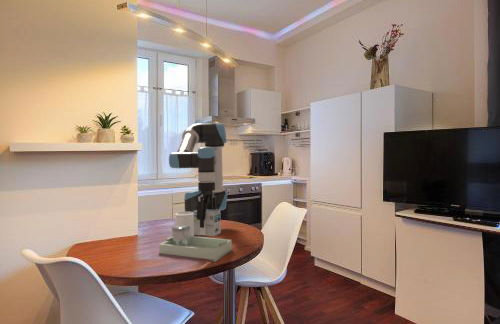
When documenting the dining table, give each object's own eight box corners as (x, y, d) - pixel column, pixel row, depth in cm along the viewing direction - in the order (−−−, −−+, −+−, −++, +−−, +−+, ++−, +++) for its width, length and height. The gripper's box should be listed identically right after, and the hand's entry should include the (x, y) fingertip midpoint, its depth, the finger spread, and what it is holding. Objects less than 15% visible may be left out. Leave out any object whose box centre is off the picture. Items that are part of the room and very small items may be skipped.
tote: (180, 245, 155) (180, 233, 155) (232, 250, 145) (231, 237, 145) (158, 255, 140) (158, 241, 139) (215, 262, 129) (214, 247, 129)
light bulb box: (221, 232, 141) (221, 209, 141) (214, 236, 135) (214, 211, 135) (200, 231, 145) (200, 208, 145) (193, 234, 138) (192, 210, 138)
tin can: (178, 245, 150) (178, 225, 150) (193, 247, 148) (193, 226, 147) (168, 250, 143) (168, 228, 143) (183, 252, 140) (183, 230, 140)
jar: (191, 245, 155) (190, 215, 155) (171, 244, 157) (171, 214, 157) (198, 239, 165) (198, 211, 165) (180, 238, 167) (180, 211, 167)
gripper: (209, 180, 150) (210, 227, 150) (187, 183, 132) (188, 237, 132) (223, 180, 147) (224, 228, 148) (202, 183, 129) (203, 238, 129)
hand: (207, 232), depth 140 cm, fingers closed on light bulb box, 7 cm apart
